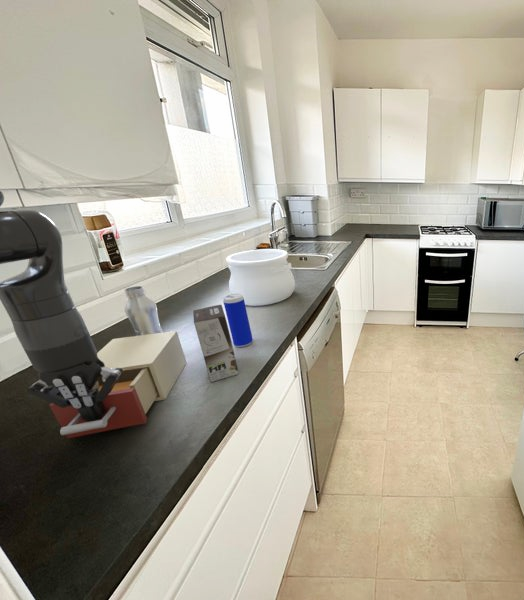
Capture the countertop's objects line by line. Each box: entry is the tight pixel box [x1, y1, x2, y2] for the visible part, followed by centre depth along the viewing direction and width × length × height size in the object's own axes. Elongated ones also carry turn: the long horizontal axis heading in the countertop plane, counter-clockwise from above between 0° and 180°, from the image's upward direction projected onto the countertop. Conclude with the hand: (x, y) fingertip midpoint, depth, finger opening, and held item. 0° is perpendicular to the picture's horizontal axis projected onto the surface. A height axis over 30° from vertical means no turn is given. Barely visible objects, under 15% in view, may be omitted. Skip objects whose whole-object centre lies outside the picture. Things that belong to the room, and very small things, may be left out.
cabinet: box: [97, 330, 187, 402], centre depth 73 cm, size 16×14×10 cm
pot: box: [225, 248, 296, 307], centre depth 125 cm, size 26×24×18 cm
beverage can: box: [223, 293, 254, 348], centre depth 90 cm, size 5×5×15 cm
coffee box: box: [192, 304, 239, 383], centre depth 77 cm, size 9×6×16 cm
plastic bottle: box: [124, 285, 164, 336], centre depth 83 cm, size 6×7×20 cm
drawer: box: [49, 367, 159, 439], centre depth 63 cm, size 19×12×8 cm, turn 17°
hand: (96, 419), depth 58 cm, fingers closed
